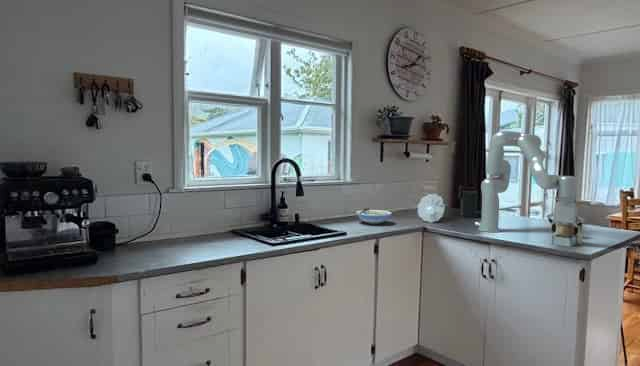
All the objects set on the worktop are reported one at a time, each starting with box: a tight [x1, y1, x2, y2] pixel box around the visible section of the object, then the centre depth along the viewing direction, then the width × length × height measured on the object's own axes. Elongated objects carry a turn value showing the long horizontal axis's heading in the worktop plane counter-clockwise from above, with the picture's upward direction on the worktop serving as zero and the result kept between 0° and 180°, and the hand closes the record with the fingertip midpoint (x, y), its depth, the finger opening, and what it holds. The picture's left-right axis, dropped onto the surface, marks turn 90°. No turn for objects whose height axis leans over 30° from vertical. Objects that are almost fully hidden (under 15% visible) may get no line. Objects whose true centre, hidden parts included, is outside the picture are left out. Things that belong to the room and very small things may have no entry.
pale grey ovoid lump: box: [417, 193, 446, 223], centre depth 287 cm, size 18×18×25 cm
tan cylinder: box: [559, 225, 569, 238], centre depth 216 cm, size 4×4×8 cm
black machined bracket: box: [457, 185, 478, 219], centre depth 307 cm, size 12×21×22 cm, turn 169°
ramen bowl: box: [356, 207, 392, 225], centre depth 272 cm, size 25×23×8 cm
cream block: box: [551, 221, 584, 247], centre depth 217 cm, size 13×11×11 cm
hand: (564, 233), depth 216 cm, fingers open, 9 cm apart
